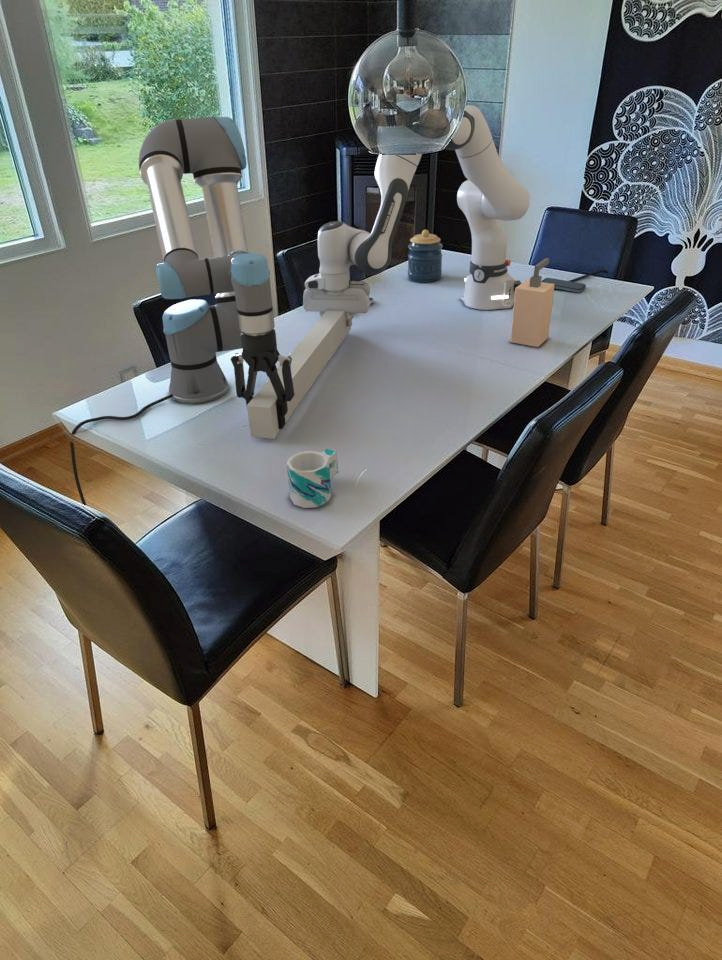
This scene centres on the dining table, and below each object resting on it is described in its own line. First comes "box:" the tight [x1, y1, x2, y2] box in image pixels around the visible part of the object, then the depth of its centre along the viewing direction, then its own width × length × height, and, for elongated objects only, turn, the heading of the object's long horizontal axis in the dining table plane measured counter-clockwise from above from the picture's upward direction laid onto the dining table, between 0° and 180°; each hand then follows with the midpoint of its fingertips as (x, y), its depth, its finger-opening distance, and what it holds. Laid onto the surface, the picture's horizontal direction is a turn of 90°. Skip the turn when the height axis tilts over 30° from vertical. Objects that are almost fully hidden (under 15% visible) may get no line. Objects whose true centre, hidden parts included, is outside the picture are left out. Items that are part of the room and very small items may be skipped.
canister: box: [407, 229, 444, 283], centre depth 252 cm, size 13×13×18 cm
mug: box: [286, 448, 339, 509], centre depth 133 cm, size 8×12×8 cm
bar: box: [246, 310, 352, 440], centre depth 180 cm, size 71×6×8 cm, turn 166°
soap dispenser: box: [510, 257, 555, 348], centre depth 195 cm, size 13×9×22 cm
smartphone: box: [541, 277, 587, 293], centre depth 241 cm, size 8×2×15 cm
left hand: (269, 425), depth 156 cm, fingers closed on bar, 6 cm apart
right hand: (338, 325), depth 205 cm, fingers closed on bar, 5 cm apart
